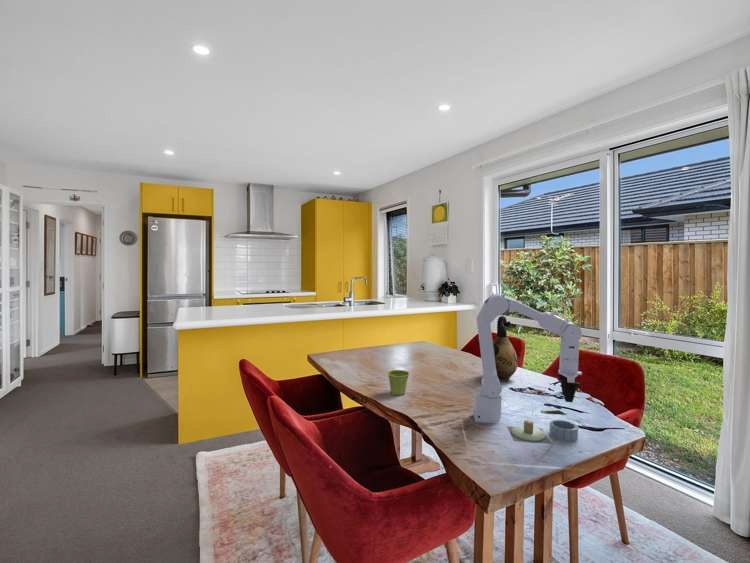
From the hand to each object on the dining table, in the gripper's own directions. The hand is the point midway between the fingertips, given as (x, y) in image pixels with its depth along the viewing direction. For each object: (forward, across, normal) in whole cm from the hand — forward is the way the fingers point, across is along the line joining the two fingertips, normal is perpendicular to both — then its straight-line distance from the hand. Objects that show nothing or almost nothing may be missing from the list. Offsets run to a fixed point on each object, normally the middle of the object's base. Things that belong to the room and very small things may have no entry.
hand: (567, 398), depth 136 cm
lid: (+9, -13, +12) cm, 20 cm away
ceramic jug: (+10, +53, +23) cm, 59 cm away
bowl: (+10, -10, +2) cm, 14 cm away
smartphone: (+10, +8, 0) cm, 13 cm away
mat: (+10, -13, +12) cm, 20 cm away
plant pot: (+10, +13, +63) cm, 65 cm away
